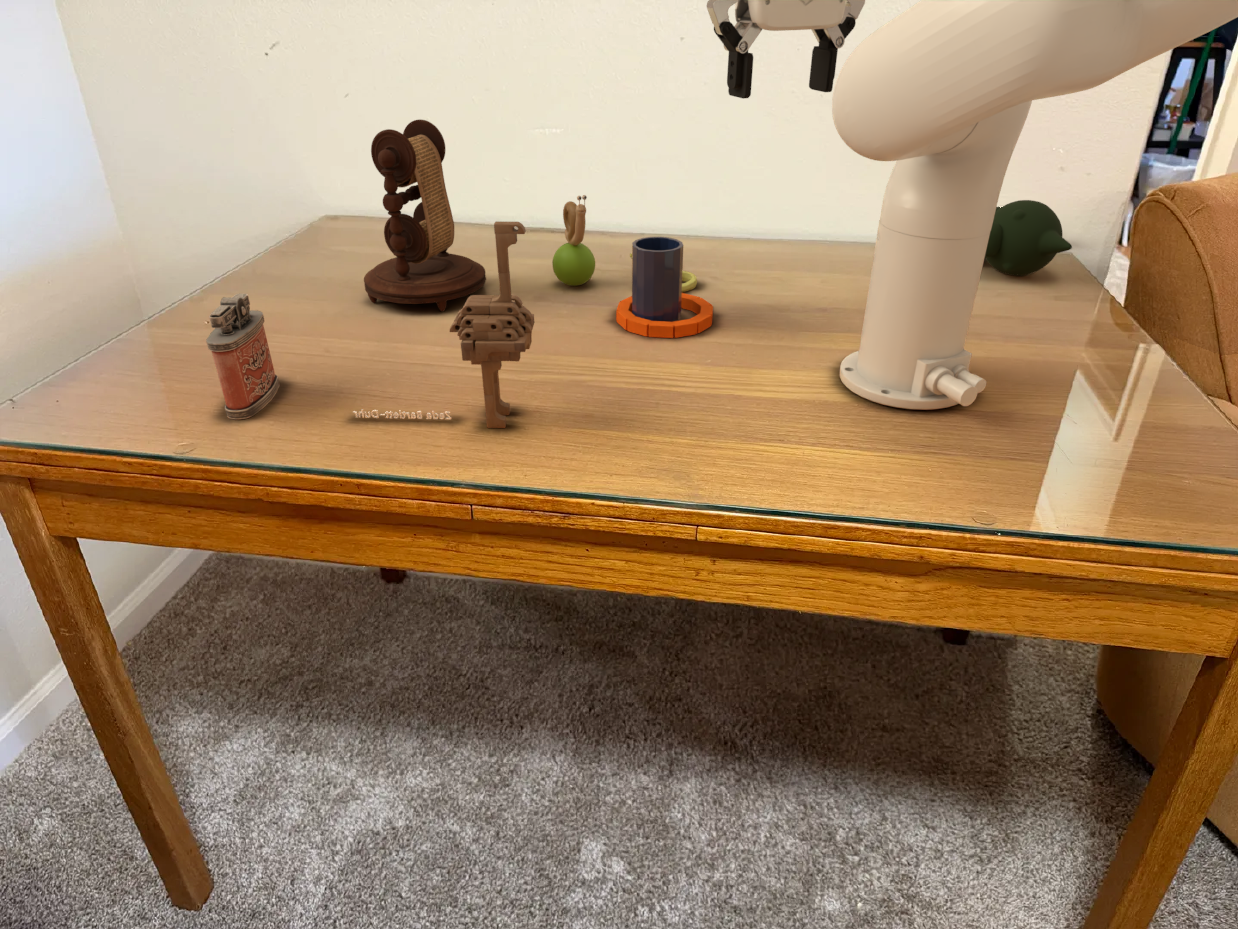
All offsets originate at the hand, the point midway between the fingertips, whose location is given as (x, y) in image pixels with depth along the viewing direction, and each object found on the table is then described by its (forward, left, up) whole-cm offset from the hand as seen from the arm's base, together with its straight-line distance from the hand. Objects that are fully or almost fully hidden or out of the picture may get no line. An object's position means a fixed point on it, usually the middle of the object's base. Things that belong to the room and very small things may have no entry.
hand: (780, 93), depth 85 cm
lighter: (+3, +55, -24) cm, 60 cm away
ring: (+5, +10, -24) cm, 27 cm away
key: (+18, +4, -24) cm, 30 cm away
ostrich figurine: (-9, +39, -24) cm, 47 cm away
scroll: (+25, +33, -24) cm, 48 cm away
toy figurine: (+7, -35, -20) cm, 41 cm away
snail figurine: (+20, +15, -24) cm, 35 cm away
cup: (+5, +11, -24) cm, 27 cm away
